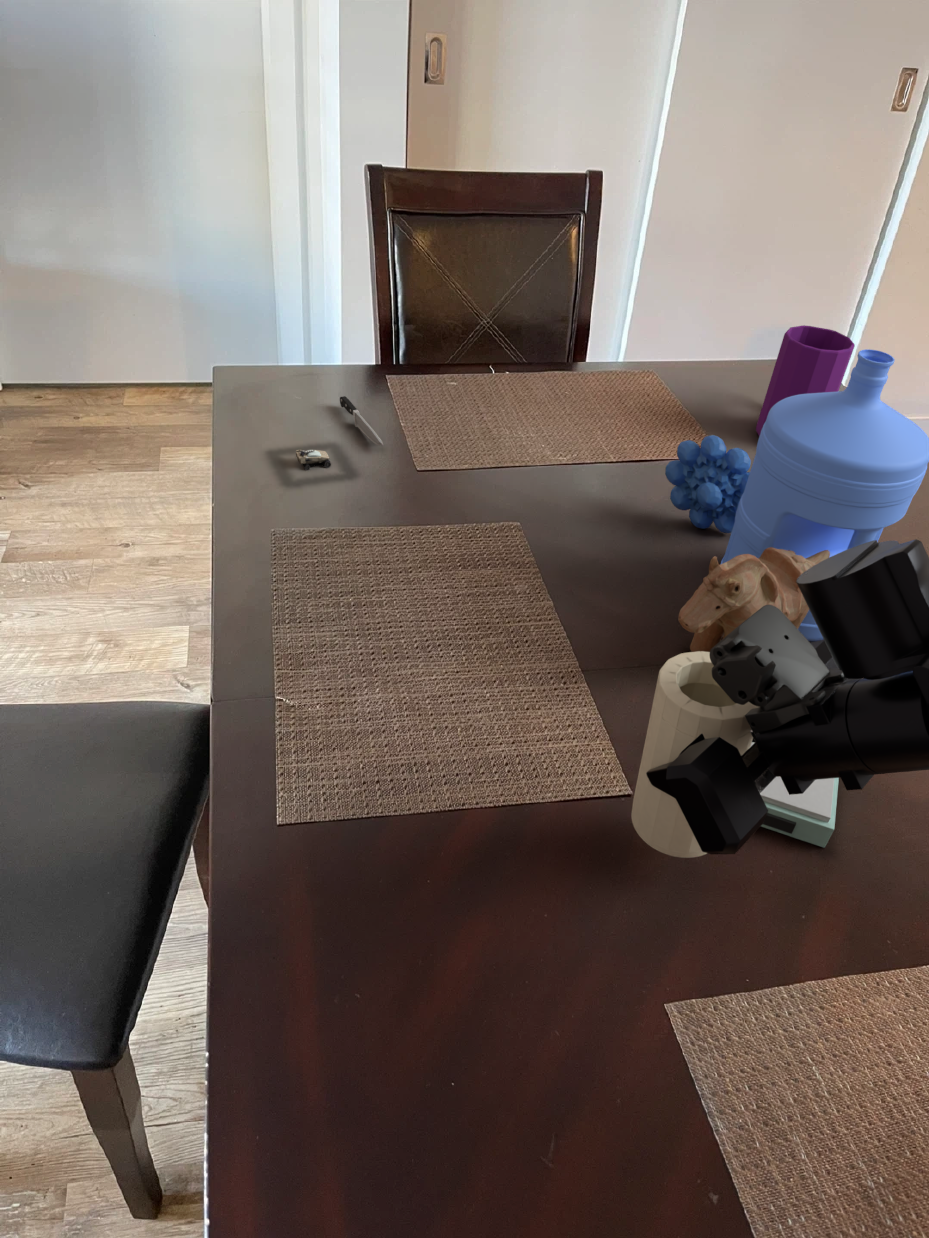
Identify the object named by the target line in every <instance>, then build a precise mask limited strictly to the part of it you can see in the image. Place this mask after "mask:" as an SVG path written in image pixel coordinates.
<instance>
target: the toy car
mask: <svg viewBox="0 0 929 1238" xmlns="http://www.w3.org/2000/svg"><path fill="white" fill-rule="evenodd" d="M295 457H296V459H297V461H298V463H299V465H302V466H303V468H304V470H305V471H309V470H310V469H311V468H313V467H324V468H327V469H328V468H330V467H331V466H332V462H331V461H330V455H328V453H327V451H325V450H319V449H307V450H302V449H296V450H295Z"/></svg>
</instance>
